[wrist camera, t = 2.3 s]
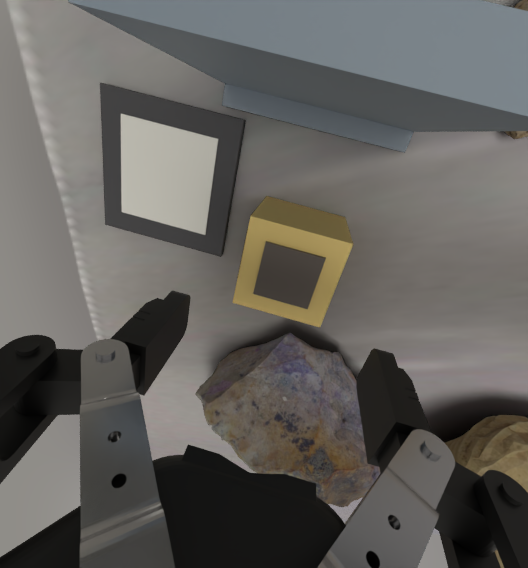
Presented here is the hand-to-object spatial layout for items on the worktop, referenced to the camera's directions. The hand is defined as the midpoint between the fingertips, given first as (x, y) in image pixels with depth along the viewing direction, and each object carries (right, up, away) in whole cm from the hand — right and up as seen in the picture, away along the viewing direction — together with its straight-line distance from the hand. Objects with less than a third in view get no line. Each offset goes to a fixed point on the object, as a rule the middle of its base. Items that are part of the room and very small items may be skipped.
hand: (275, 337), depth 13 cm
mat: (-8, +10, +10) cm, 16 cm away
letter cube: (+2, +5, +11) cm, 12 cm away
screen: (+3, +14, +6) cm, 16 cm away
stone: (+3, -7, +17) cm, 19 cm away
